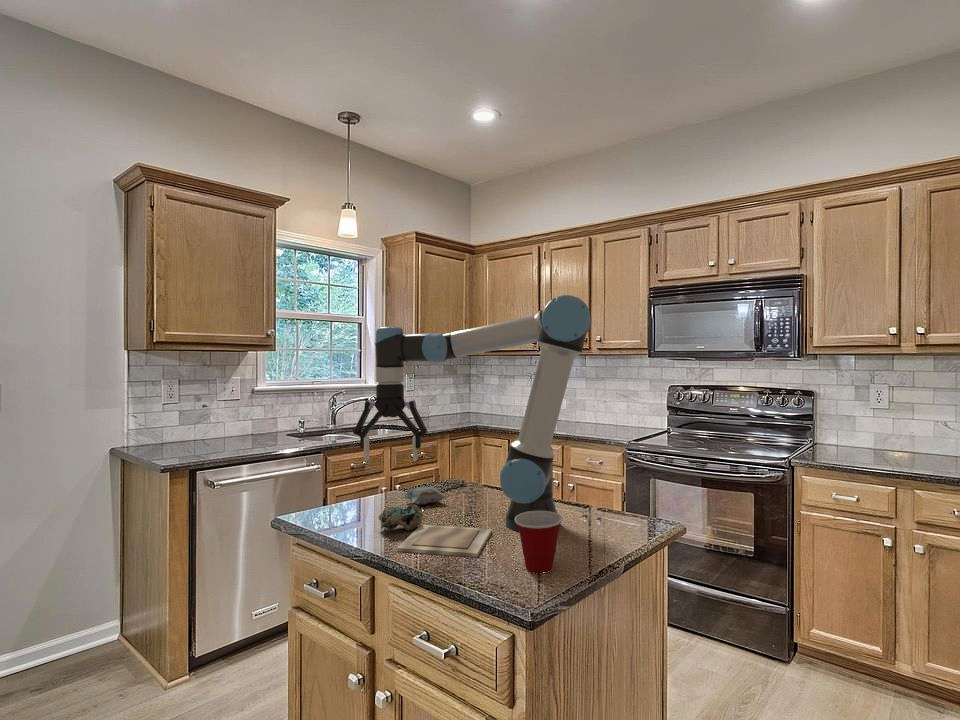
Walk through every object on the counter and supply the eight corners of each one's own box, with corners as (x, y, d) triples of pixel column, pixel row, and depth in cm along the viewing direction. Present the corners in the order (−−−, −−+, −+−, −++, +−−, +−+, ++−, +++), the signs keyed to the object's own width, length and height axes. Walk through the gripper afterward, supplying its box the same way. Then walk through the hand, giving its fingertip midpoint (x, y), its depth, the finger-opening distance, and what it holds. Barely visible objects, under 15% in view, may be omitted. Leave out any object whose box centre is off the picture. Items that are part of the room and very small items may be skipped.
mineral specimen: (383, 532, 152) (395, 503, 153) (372, 519, 160) (383, 492, 161) (422, 542, 158) (433, 515, 159) (409, 530, 166) (420, 504, 167)
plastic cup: (504, 569, 130) (504, 515, 130) (536, 558, 137) (536, 507, 137) (539, 583, 122) (539, 526, 122) (572, 570, 129) (572, 517, 129)
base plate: (491, 532, 157) (491, 527, 157) (477, 557, 137) (477, 552, 137) (421, 528, 161) (421, 523, 161) (397, 551, 141) (397, 546, 141)
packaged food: (447, 504, 186) (447, 488, 186) (412, 508, 180) (412, 492, 180) (437, 498, 193) (436, 483, 193) (403, 502, 188) (403, 487, 188)
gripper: (437, 382, 161) (437, 458, 161) (350, 383, 164) (351, 457, 164) (432, 383, 154) (433, 463, 154) (341, 384, 156) (342, 462, 156)
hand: (390, 460), depth 159 cm, fingers open, 13 cm apart
